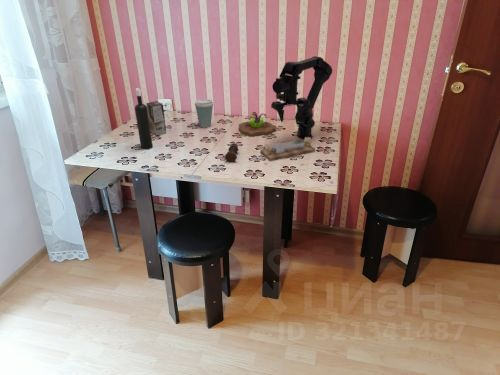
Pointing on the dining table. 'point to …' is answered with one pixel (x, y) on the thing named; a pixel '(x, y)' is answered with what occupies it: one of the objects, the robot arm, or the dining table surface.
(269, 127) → the plant
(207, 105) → the disposable coffee cup
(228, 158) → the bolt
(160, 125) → the coffee box
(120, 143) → the dining table surface
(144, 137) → the wine bottle
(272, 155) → the peg rack
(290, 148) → the grey stepped block
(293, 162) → the dining table surface
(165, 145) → the dining table surface
